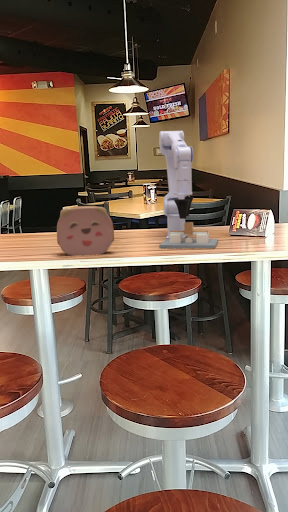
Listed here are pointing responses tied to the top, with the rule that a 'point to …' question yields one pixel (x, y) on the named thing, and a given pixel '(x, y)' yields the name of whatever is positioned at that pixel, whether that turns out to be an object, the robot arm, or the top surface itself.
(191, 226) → the brown and white bar
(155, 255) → the top surface
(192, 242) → the display stand
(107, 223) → the face sculpture
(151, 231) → the top surface
